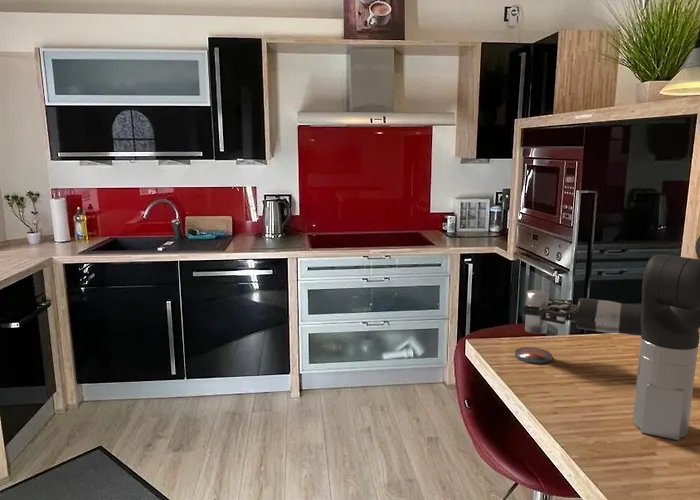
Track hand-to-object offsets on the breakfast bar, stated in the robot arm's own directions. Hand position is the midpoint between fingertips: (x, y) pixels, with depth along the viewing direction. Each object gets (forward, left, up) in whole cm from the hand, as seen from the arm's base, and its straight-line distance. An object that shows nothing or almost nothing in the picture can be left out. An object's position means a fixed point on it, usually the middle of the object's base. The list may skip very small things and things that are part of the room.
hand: (526, 306), depth 134 cm
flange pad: (0, -2, -13) cm, 13 cm away
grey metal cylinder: (0, -3, -6) cm, 7 cm away
